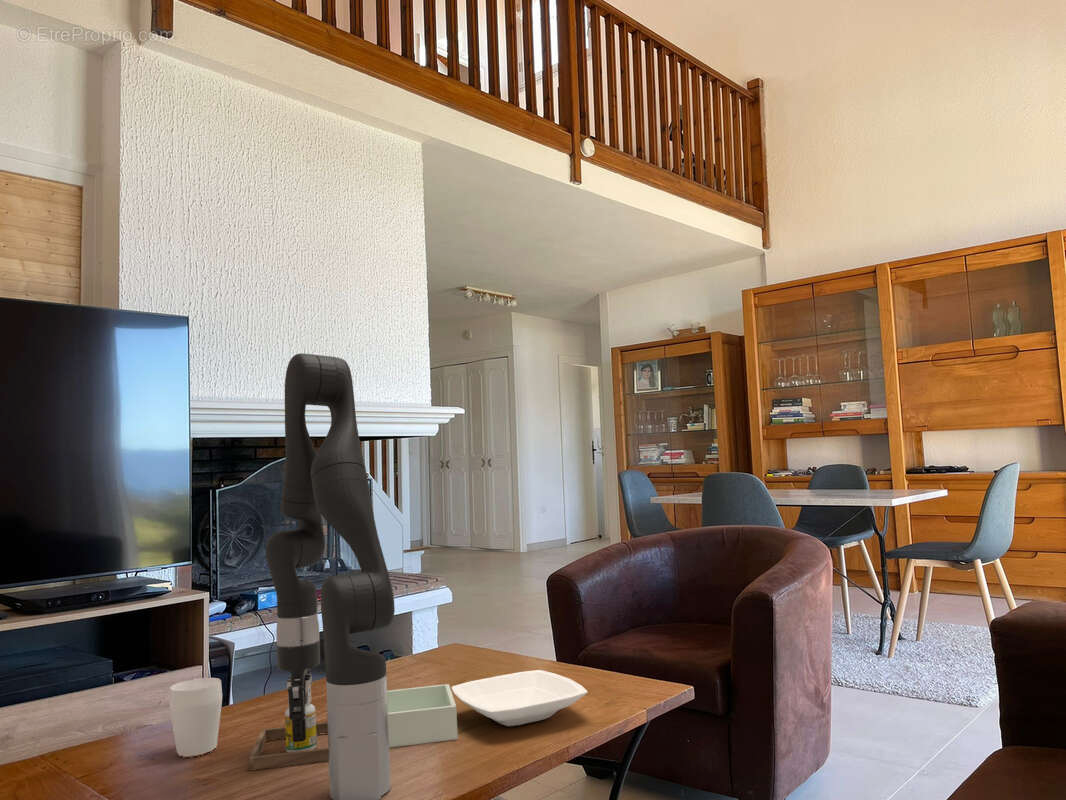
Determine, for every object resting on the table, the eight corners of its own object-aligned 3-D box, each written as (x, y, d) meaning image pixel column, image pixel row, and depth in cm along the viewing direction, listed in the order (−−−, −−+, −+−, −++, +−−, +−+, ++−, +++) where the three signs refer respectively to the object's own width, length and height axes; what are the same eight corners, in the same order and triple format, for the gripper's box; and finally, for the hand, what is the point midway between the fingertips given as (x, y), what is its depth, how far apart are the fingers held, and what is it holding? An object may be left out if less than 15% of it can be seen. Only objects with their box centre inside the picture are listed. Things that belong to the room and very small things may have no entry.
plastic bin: (457, 739, 142) (456, 706, 143) (370, 749, 139) (368, 716, 140) (450, 713, 158) (448, 683, 158) (371, 722, 155) (369, 692, 155)
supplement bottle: (319, 750, 141) (318, 695, 141) (289, 757, 138) (287, 701, 139) (313, 742, 145) (311, 688, 146) (283, 748, 143) (281, 694, 144)
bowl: (442, 715, 157) (441, 686, 158) (546, 694, 168) (544, 667, 168) (486, 748, 137) (485, 714, 138) (600, 722, 148) (598, 691, 148)
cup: (165, 763, 138) (164, 693, 139) (174, 746, 147) (173, 681, 148) (220, 755, 141) (219, 687, 142) (226, 739, 149) (224, 675, 150)
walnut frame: (343, 759, 136) (343, 747, 136) (249, 771, 133) (248, 758, 133) (347, 730, 151) (347, 719, 151) (262, 740, 148) (262, 729, 148)
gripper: (316, 646, 137) (319, 746, 136) (322, 630, 151) (325, 720, 150) (271, 650, 136) (274, 751, 134) (281, 634, 150) (284, 725, 148)
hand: (301, 735), depth 142 cm, fingers closed on supplement bottle, 5 cm apart
